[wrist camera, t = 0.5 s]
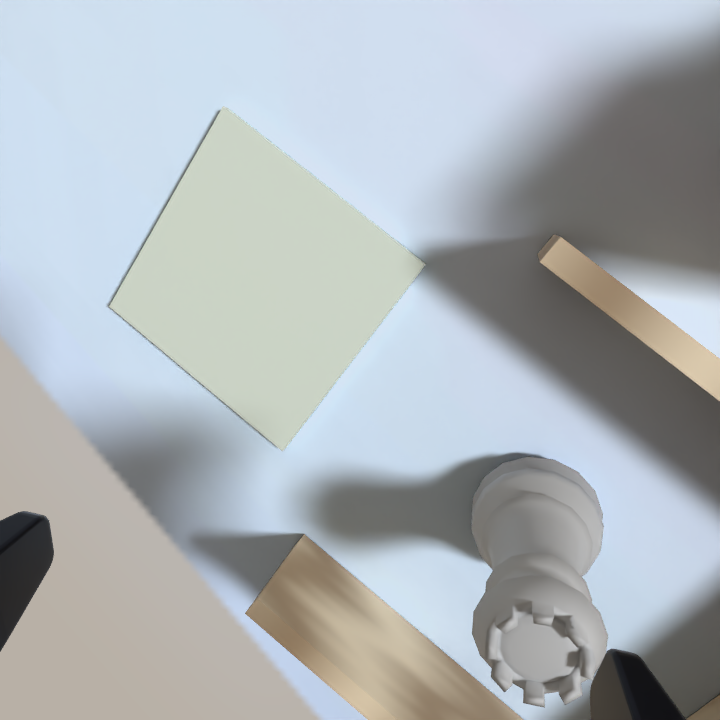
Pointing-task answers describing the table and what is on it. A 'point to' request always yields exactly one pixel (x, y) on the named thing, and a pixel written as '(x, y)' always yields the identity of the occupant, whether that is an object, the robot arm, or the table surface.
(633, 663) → the robot arm
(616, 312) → the open box
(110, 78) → the table surface
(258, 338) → the sage mat
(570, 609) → the rook chess piece
